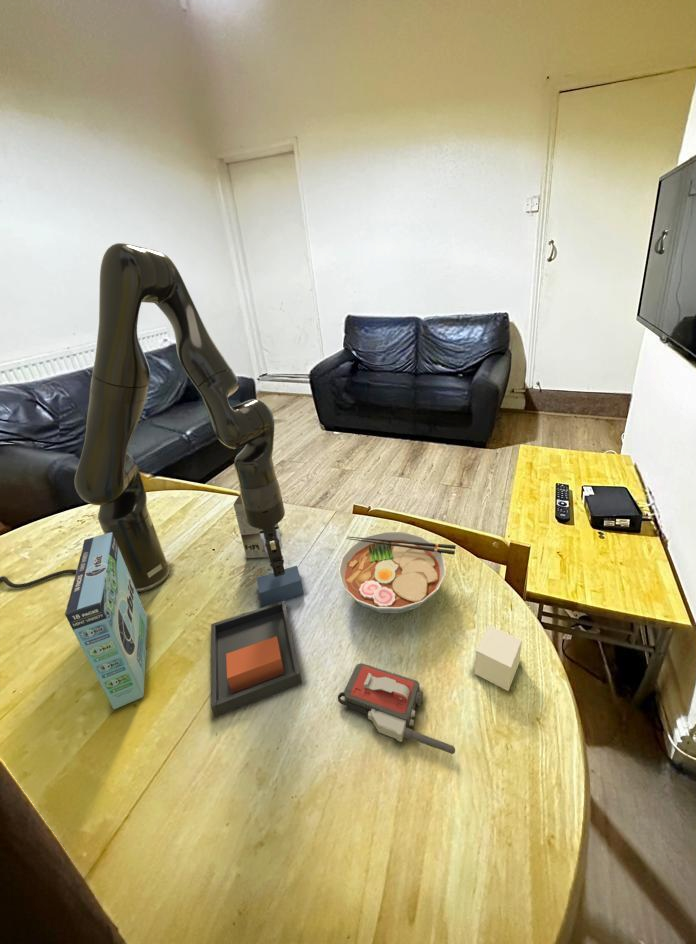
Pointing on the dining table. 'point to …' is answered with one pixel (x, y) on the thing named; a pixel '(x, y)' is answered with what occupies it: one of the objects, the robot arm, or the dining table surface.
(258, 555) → the coffee box
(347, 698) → the walkie-talkie
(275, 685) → the holder
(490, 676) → the beige cube
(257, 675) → the pad
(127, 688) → the gum box
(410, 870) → the dining table surface
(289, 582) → the blue rectangular block
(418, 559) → the ramen bowl
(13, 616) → the dining table surface
